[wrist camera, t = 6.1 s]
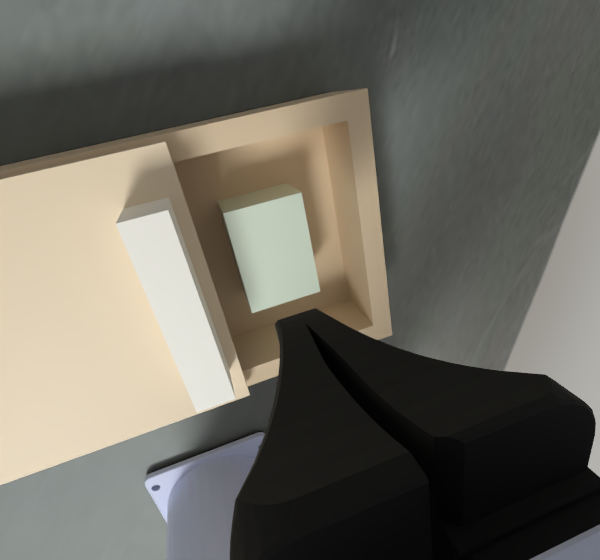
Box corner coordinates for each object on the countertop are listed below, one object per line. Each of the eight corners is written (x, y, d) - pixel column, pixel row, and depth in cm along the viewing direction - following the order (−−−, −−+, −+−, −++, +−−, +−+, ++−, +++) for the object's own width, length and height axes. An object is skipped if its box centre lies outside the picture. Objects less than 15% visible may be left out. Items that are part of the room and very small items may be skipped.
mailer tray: (360, 302, 24) (392, 334, 21) (95, 390, 21) (79, 446, 18) (331, 91, 19) (367, 88, 15) (-30, 172, 16) (-88, 190, 12)
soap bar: (305, 272, 21) (320, 291, 19) (243, 291, 21) (252, 313, 18) (286, 182, 19) (301, 192, 17) (217, 200, 18) (223, 213, 16)
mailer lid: (247, 387, 19) (258, 425, 16) (-115, 516, 16) (-163, 583, 14) (165, 140, 14) (164, 146, 11) (-393, 268, 11) (-543, 310, 9)
